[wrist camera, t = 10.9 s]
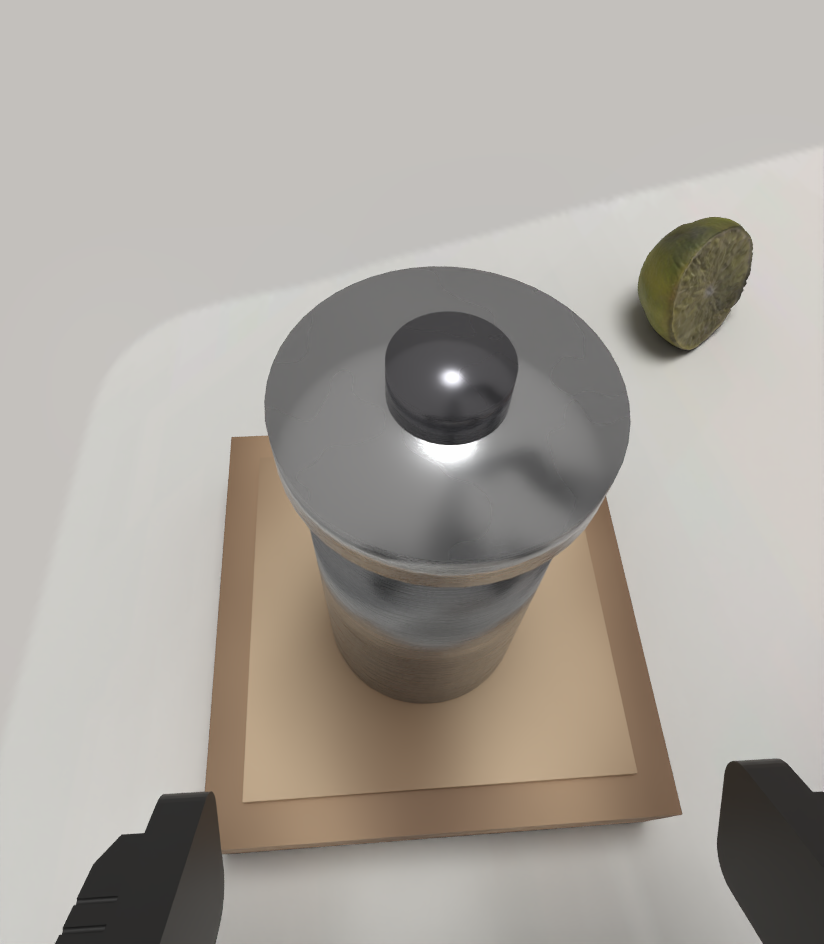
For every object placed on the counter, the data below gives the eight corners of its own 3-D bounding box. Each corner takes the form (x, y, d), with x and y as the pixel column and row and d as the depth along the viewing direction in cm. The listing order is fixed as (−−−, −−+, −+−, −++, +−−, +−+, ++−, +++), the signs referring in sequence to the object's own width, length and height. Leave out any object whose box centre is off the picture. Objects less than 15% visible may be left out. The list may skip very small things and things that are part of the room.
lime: (729, 298, 31) (785, 204, 26) (720, 378, 28) (780, 290, 24) (631, 273, 31) (670, 178, 27) (614, 351, 29) (653, 259, 25)
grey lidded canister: (507, 513, 21) (599, 225, 12) (540, 707, 18) (696, 522, 9) (319, 524, 21) (262, 235, 12) (321, 723, 18) (245, 547, 9)
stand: (568, 467, 26) (590, 418, 23) (644, 821, 20) (686, 814, 17) (247, 481, 25) (229, 432, 22) (225, 854, 19) (197, 851, 16)
